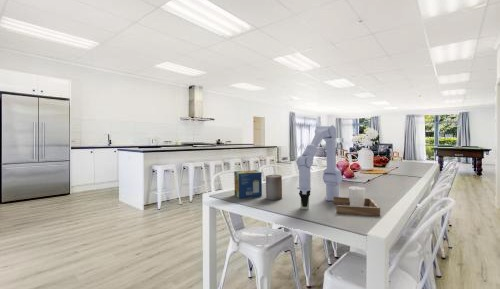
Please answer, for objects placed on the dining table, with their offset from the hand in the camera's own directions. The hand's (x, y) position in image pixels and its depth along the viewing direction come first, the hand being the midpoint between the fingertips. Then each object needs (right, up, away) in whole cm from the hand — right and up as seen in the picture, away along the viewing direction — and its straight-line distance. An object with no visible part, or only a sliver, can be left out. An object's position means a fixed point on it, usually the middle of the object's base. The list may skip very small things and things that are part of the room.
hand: (304, 205), depth 129 cm
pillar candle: (-14, -1, +22) cm, 26 cm away
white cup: (+27, -1, +1) cm, 27 cm away
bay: (+25, -1, -2) cm, 25 cm away
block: (0, -1, 0) cm, 1 cm away
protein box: (-30, -1, +29) cm, 42 cm away
